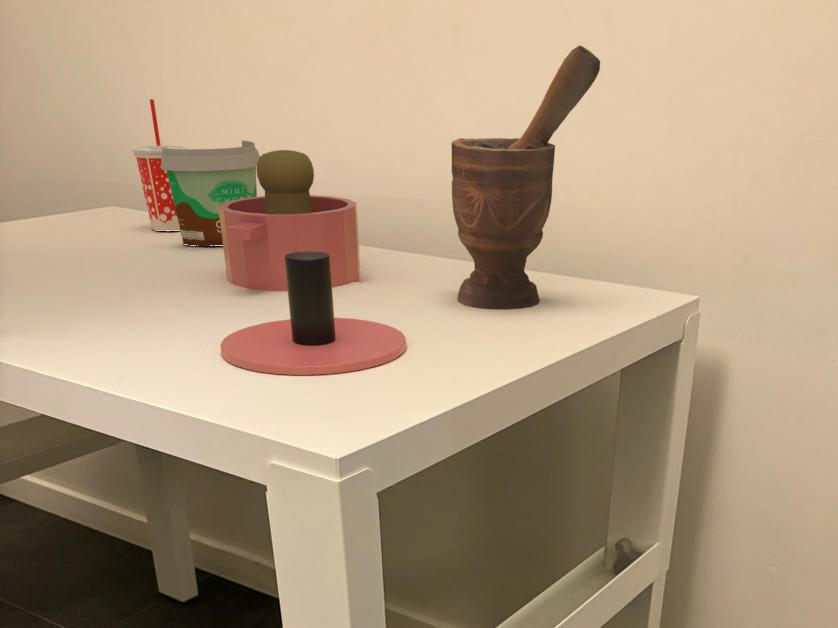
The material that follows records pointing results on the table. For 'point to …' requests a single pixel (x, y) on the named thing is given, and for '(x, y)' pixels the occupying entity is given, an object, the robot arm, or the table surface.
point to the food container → (208, 186)
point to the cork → (286, 181)
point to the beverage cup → (156, 182)
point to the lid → (312, 330)
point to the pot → (287, 240)
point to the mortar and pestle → (512, 193)
